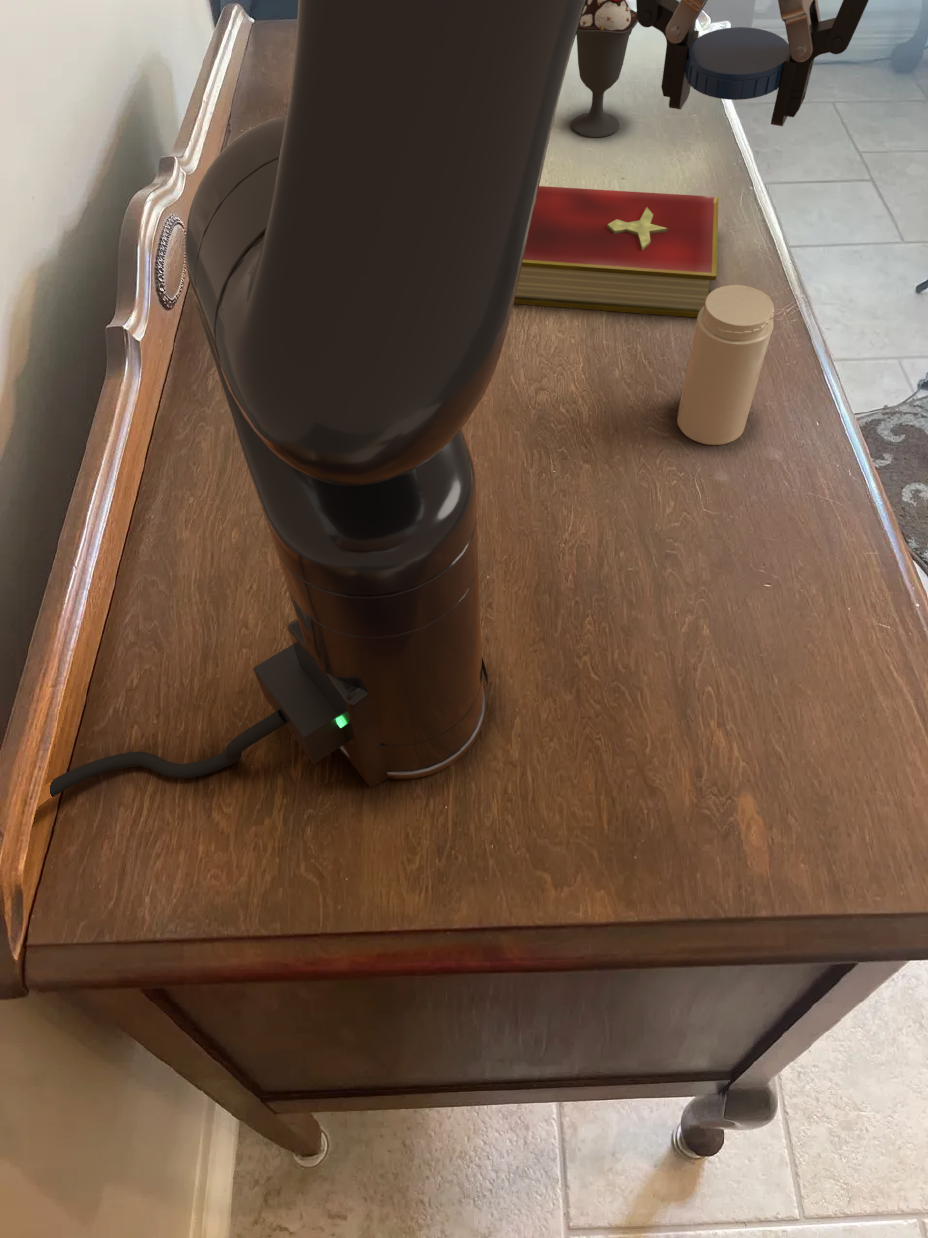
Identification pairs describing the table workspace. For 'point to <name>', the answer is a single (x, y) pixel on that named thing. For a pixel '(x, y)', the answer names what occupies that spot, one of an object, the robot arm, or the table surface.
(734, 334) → the jar
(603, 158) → the table surface
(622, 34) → the sundae
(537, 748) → the table surface
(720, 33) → the jar lid
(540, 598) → the table surface
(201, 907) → the table surface
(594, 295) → the hardcover book
